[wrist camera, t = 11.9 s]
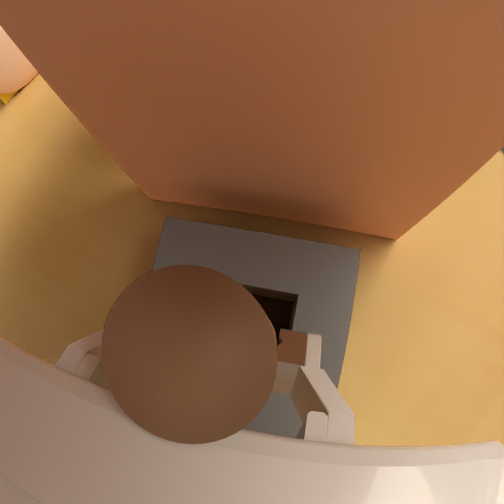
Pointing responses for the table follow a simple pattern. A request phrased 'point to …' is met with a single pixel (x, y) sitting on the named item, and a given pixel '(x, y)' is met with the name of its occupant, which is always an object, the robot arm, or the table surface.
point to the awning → (281, 99)
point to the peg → (189, 354)
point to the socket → (276, 290)
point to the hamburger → (13, 68)
